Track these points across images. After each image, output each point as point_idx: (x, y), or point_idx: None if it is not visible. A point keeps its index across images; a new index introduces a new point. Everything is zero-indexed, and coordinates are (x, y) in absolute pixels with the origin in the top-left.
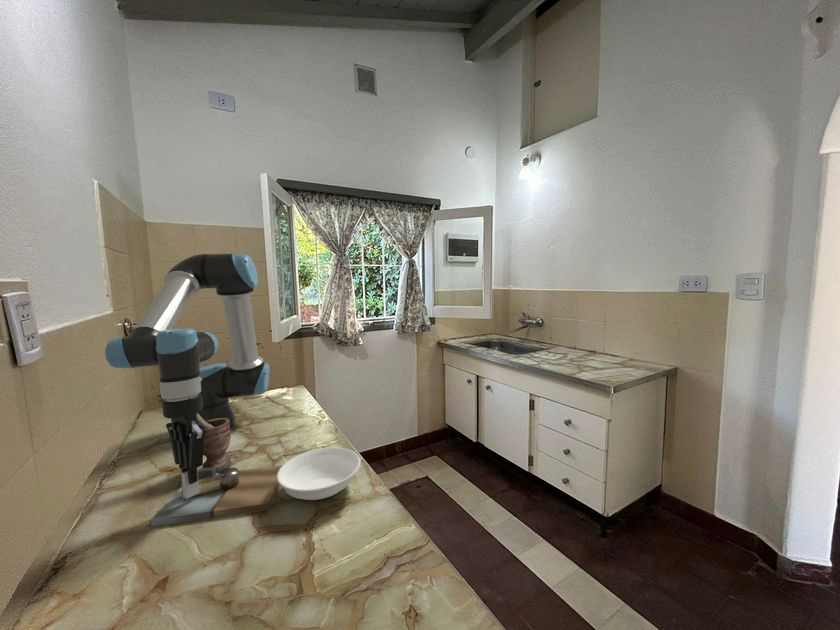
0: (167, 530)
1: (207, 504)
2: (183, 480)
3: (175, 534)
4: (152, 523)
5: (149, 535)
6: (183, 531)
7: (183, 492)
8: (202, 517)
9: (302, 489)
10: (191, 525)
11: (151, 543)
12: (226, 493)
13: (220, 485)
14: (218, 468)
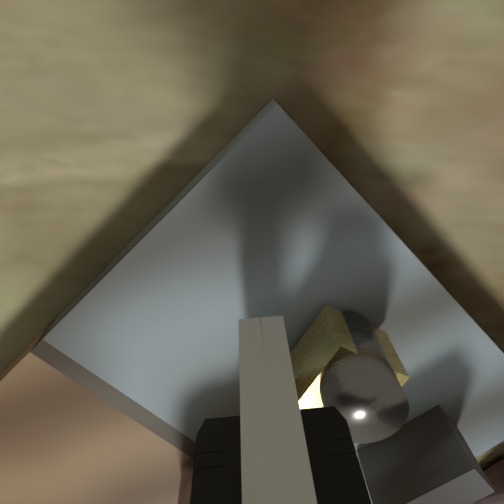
0: (141, 141)
1: (133, 357)
2: (274, 419)
3: (55, 155)
4: (269, 104)
5: (182, 54)
6: (49, 192)
7: (283, 338)
8: (78, 296)
9: None
10: (74, 238)
11: (75, 33)
12: (160, 442)
13: None
14: (483, 500)
